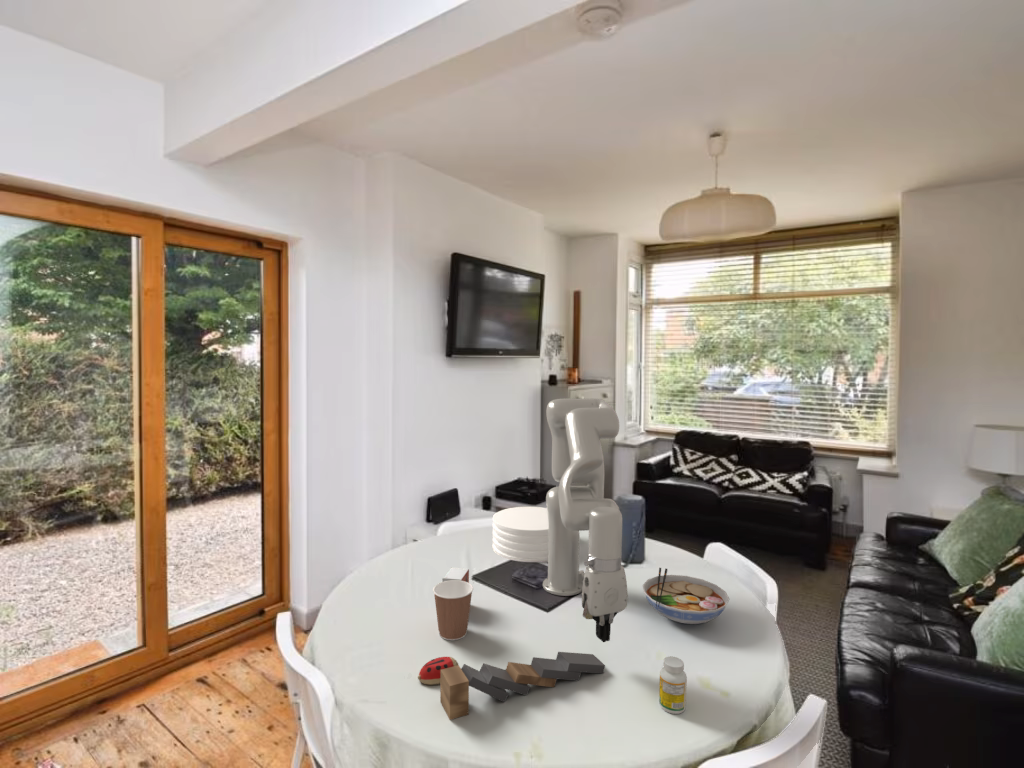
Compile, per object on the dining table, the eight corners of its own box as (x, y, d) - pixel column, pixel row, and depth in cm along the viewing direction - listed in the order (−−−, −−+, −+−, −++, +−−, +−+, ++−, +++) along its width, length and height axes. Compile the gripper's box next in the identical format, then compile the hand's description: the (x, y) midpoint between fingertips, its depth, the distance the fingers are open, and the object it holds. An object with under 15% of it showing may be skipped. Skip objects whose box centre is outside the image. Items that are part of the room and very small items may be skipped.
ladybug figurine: (465, 677, 123) (465, 661, 123) (425, 692, 118) (425, 676, 117) (451, 662, 129) (451, 648, 128) (412, 676, 123) (412, 661, 123)
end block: (458, 697, 116) (458, 665, 115) (468, 714, 110) (468, 681, 110) (440, 702, 114) (440, 669, 114) (449, 719, 109) (449, 686, 108)
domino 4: (569, 660, 127) (533, 657, 122) (580, 672, 122) (543, 669, 118) (567, 668, 126) (530, 665, 122) (578, 680, 122) (541, 677, 118)
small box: (461, 617, 150) (461, 579, 149) (441, 615, 151) (441, 578, 150) (469, 604, 158) (469, 568, 157) (450, 602, 159) (450, 566, 158)
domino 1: (499, 680, 119) (464, 663, 115) (508, 694, 115) (472, 676, 111) (494, 688, 119) (459, 671, 115) (504, 702, 114) (467, 685, 110)
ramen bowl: (729, 649, 135) (731, 617, 135) (636, 631, 143) (636, 601, 143) (727, 605, 159) (728, 577, 158) (647, 592, 167) (647, 565, 166)
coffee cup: (479, 627, 145) (479, 583, 144) (463, 647, 135) (463, 600, 134) (443, 620, 148) (443, 577, 147) (425, 639, 138) (425, 593, 137)
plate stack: (490, 535, 215) (490, 507, 215) (560, 534, 218) (560, 505, 218) (495, 563, 188) (495, 531, 187) (575, 561, 191) (576, 529, 190)
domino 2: (519, 674, 121) (483, 663, 117) (530, 687, 117) (492, 675, 113) (516, 682, 121) (479, 671, 117) (526, 695, 117) (488, 684, 112)
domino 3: (545, 666, 124) (508, 661, 120) (556, 679, 120) (518, 674, 115) (543, 674, 124) (505, 670, 120) (554, 687, 119) (515, 682, 115)
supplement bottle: (679, 718, 110) (680, 672, 109) (654, 707, 113) (655, 662, 113) (689, 705, 114) (691, 660, 113) (665, 694, 117) (666, 651, 117)
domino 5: (593, 654, 129) (558, 651, 125) (605, 665, 125) (569, 663, 121) (591, 661, 129) (556, 659, 125) (603, 673, 125) (567, 671, 121)
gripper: (586, 573, 119) (584, 654, 121) (641, 562, 126) (639, 639, 127) (568, 561, 126) (566, 637, 127) (621, 551, 133) (619, 624, 134)
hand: (602, 638), depth 127 cm, fingers closed
